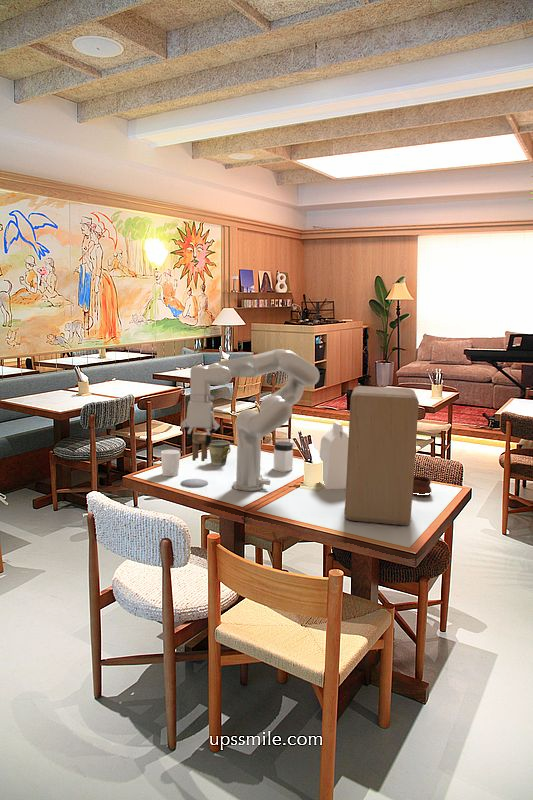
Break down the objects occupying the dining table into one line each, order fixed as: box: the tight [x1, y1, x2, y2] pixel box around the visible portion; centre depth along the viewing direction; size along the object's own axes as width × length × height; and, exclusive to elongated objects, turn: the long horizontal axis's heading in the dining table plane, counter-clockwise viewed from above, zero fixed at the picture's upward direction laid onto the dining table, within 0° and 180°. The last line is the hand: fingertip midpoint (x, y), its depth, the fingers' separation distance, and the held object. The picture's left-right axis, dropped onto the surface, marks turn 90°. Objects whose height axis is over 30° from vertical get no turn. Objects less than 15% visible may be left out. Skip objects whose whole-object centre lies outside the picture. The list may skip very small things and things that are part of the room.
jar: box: [273, 440, 294, 473], centre depth 278 cm, size 9×8×12 cm
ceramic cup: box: [208, 439, 231, 466], centre depth 283 cm, size 13×10×10 cm
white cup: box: [160, 449, 181, 477], centre depth 264 cm, size 8×8×10 cm
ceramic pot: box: [412, 476, 432, 501], centre depth 247 cm, size 18×18×7 cm
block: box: [344, 385, 420, 526], centre depth 219 cm, size 22×22×45 cm
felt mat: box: [180, 478, 209, 488], centre depth 253 cm, size 11×11×1 cm
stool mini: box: [191, 432, 208, 462], centre depth 239 cm, size 6×6×10 cm
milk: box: [319, 421, 349, 490], centre depth 256 cm, size 12×12×26 cm
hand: (199, 443), depth 239 cm, fingers closed on stool mini, 6 cm apart
